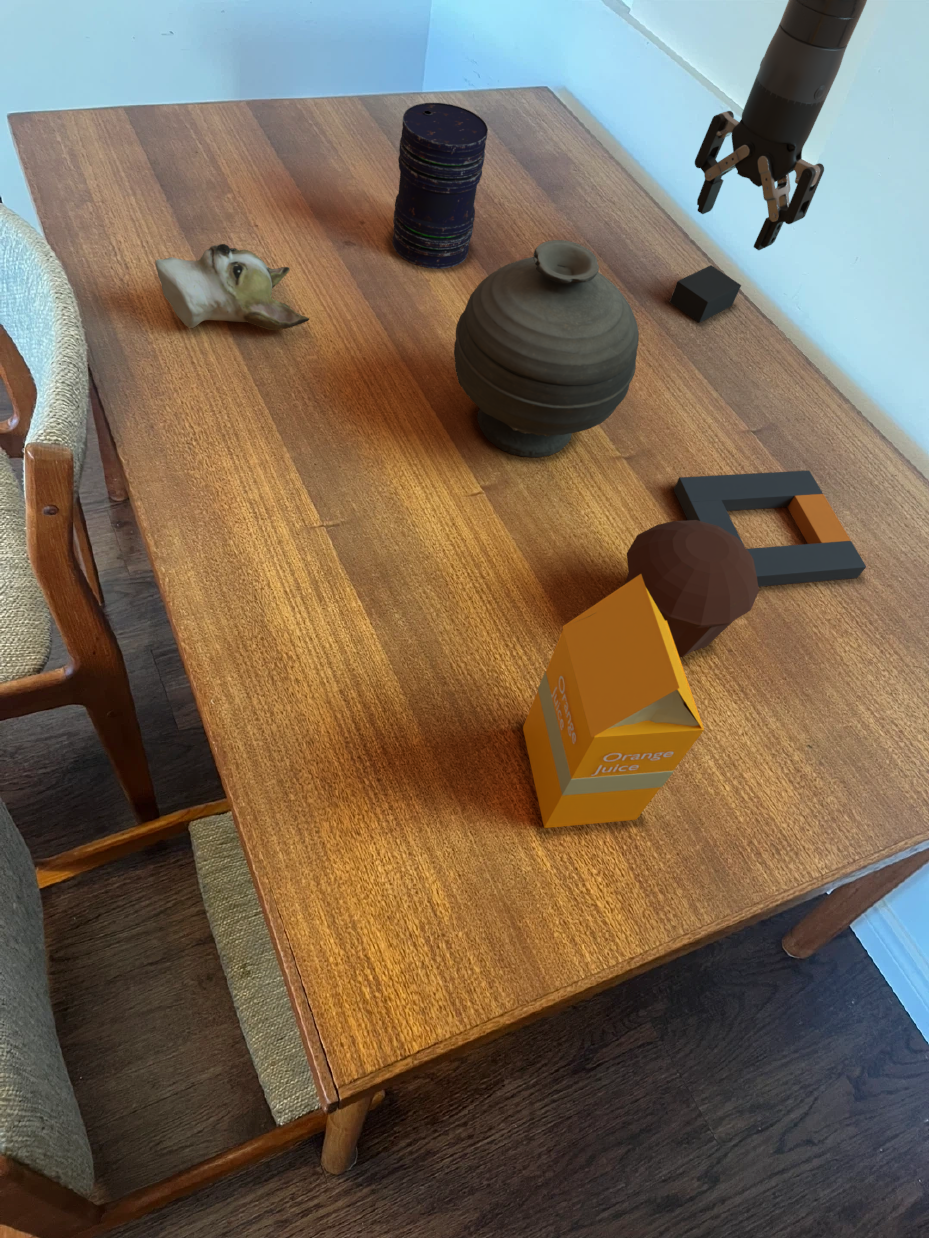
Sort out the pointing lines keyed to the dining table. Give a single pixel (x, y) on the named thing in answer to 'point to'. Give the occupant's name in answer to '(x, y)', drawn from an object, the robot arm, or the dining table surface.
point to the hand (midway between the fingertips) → (731, 229)
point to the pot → (545, 349)
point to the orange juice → (610, 713)
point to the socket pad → (795, 490)
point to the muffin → (694, 578)
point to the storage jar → (438, 183)
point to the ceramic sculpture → (225, 289)
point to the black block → (705, 293)
